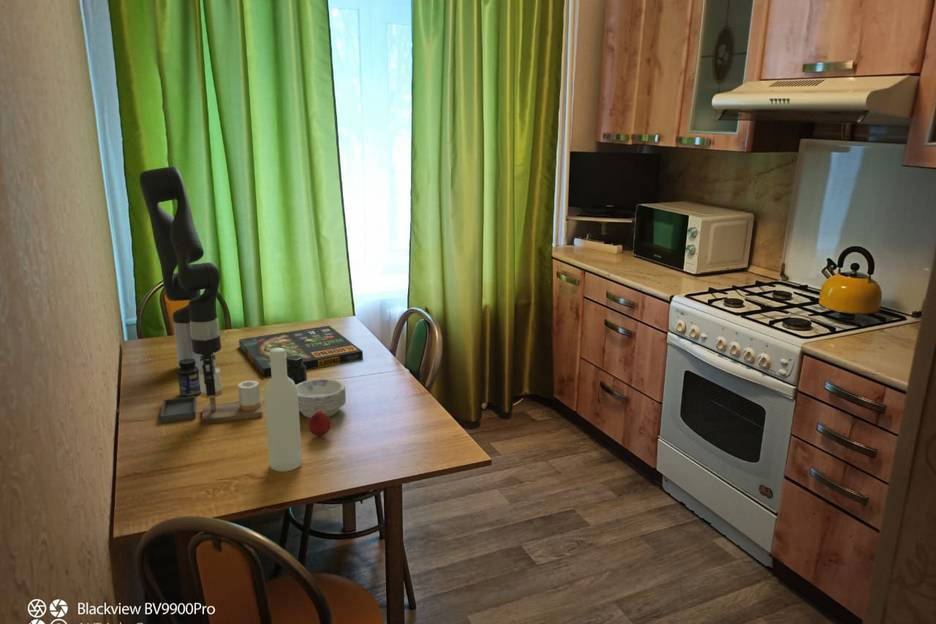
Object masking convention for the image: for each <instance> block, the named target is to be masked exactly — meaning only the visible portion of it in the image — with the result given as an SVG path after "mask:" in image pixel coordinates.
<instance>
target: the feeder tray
mask: <svg viewBox="0 0 936 624" xmlns="http://www.w3.org/2000/svg"><path fill="white" fill-rule="evenodd" d="M197 404H198V399H197V396H192V397H176V398H168V399H163V401H162V406H161V411H160V423H163V424H165V423H172V422H179V421H186V420H195V419H196V417H197V409H198V408H197Z"/></svg>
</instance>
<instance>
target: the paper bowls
mask: <svg viewBox="0 0 936 624" xmlns="http://www.w3.org/2000/svg"><path fill="white" fill-rule="evenodd" d="M296 387H297V393H298V408H299V412H300V413H301V414H302V415H303V416H304V417H306V418H308V419H310V418H311V417H312V416H313V415H314V414H315V413H316V412H317V411H318V410H319V409H321V410H322V413H324V414H326V415H327V416H328V417H329V418H330V417H332V416H334V415H335V414H336V413H337V412H338V410H339V409H340V408H342V407H343V406H344V405H345V404H346V402H347V401H346V399H347V397H346V396H347V395H346V394H347V393H346V385H345V384H344V383H343V382H342V381H340V380H337V379H333V378H318V379H317V378H316V379H309V380H308V379H307V381H304V382H301V383H299V384H297V385H296Z"/></svg>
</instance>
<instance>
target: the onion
mask: <svg viewBox="0 0 936 624" xmlns="http://www.w3.org/2000/svg"><path fill="white" fill-rule="evenodd" d="M331 421H332V420H331V418H330V416H329V417H328V416H327V415H326V414H324V413H322V410H321V409H319V410H318V411H317V412H316V413H315V414H314V415H313V416H312V417H311V418H309V421H308V430H309V431H310V432H311V434H312V435H313V436H316V437H318V438H323V437H324V436H325V435H327V433H328V432H329V431H330V430H331V427H332V422H331Z"/></svg>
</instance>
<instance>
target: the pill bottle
mask: <svg viewBox="0 0 936 624" xmlns="http://www.w3.org/2000/svg"><path fill="white" fill-rule="evenodd" d="M195 364H196V362H195V359H192V358H188V359H183V360H180V361H179V365H178V369H177V379H178V389H179V394H180V396H181V398H183V397H192V396H196V397H198V396H200V395H201V390H200V381H199V369H198V367H196V366H195ZM179 366H180V368H179Z"/></svg>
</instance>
